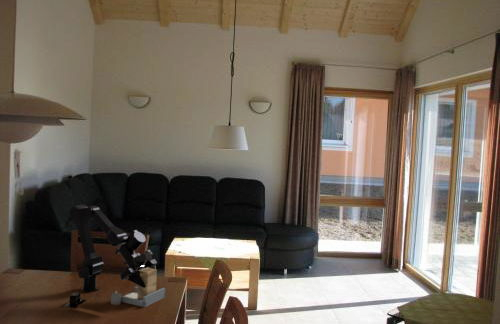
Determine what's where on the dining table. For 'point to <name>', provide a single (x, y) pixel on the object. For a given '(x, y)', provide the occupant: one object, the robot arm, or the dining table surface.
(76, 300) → the black chunky block
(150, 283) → the tan wooden block
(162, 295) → the bay
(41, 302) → the dining table surface
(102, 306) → the dining table surface
